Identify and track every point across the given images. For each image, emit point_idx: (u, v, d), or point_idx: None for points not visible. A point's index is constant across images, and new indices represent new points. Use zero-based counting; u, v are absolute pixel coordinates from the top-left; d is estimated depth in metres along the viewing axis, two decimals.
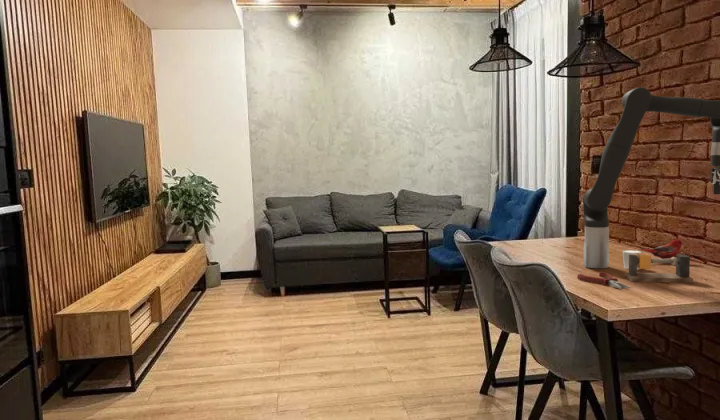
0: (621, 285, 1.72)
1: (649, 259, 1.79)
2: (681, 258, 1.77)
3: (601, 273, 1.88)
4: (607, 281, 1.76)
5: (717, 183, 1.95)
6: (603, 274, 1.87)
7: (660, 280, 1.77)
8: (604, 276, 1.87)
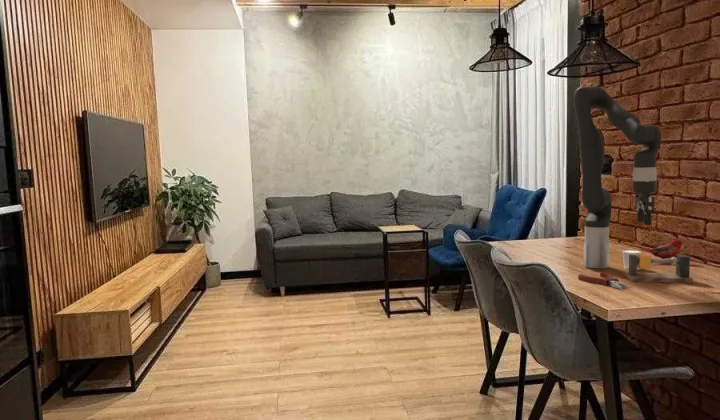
0: (622, 285, 1.72)
1: (649, 259, 1.79)
2: (681, 258, 1.77)
3: (602, 273, 1.88)
4: (608, 281, 1.76)
5: (641, 210, 1.84)
6: (604, 274, 1.87)
7: (660, 280, 1.77)
8: (605, 276, 1.86)
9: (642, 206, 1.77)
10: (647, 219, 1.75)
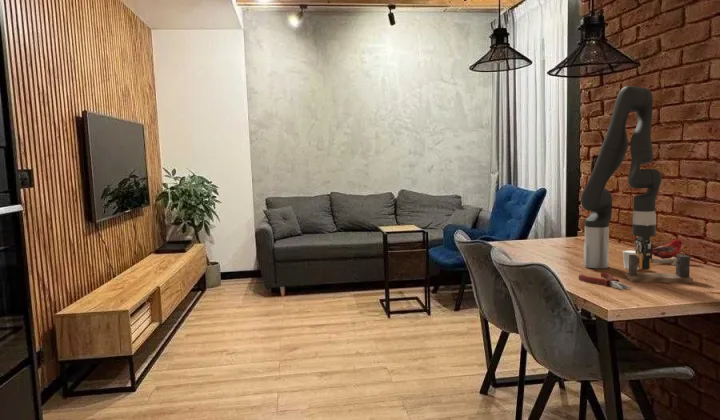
0: (622, 286, 1.71)
1: None
2: (681, 258, 1.77)
3: (603, 273, 1.87)
4: (608, 282, 1.75)
5: None
6: (605, 274, 1.86)
7: (660, 280, 1.77)
8: (606, 276, 1.86)
9: (641, 251, 1.79)
10: (645, 264, 1.78)
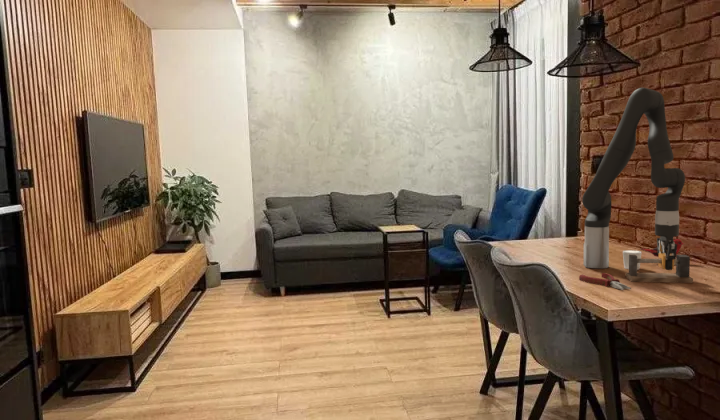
0: (623, 286, 1.71)
1: None
2: (681, 258, 1.77)
3: (603, 274, 1.87)
4: (609, 282, 1.75)
5: None
6: (605, 275, 1.86)
7: (660, 280, 1.77)
8: (606, 277, 1.85)
9: (664, 251, 1.77)
10: (668, 264, 1.76)
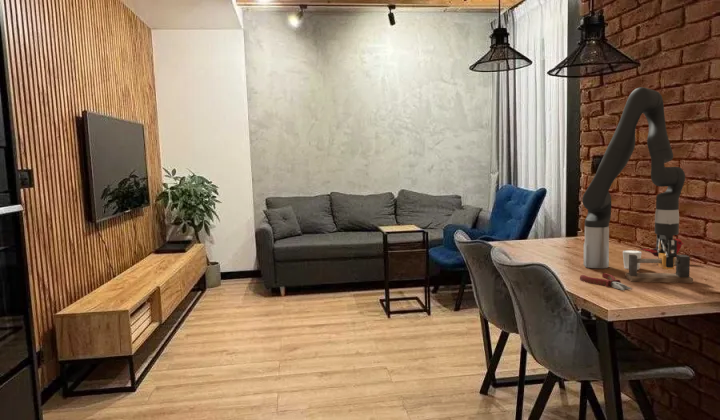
0: (624, 286, 1.70)
1: None
2: (681, 258, 1.77)
3: (604, 274, 1.86)
4: (610, 282, 1.75)
5: (662, 251, 1.83)
6: (606, 275, 1.85)
7: (660, 280, 1.77)
8: (607, 277, 1.85)
9: (664, 248, 1.76)
10: (669, 262, 1.75)
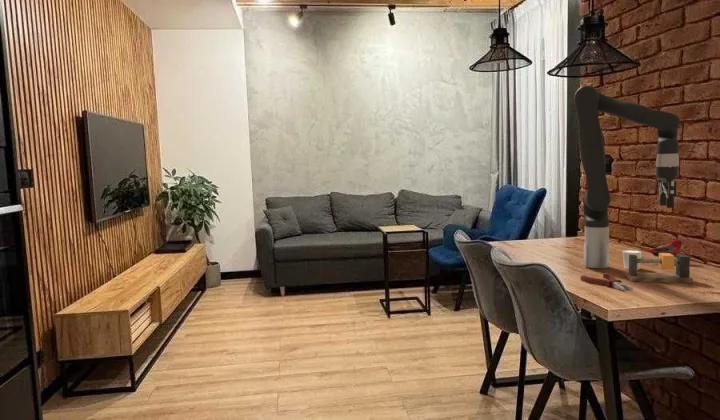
0: (625, 287, 1.70)
1: (672, 259, 1.77)
2: (681, 258, 1.77)
3: (605, 274, 1.86)
4: (611, 283, 1.74)
5: (663, 194, 1.95)
6: (607, 275, 1.85)
7: (660, 280, 1.77)
8: (608, 277, 1.84)
9: (665, 190, 1.88)
10: (669, 202, 1.87)
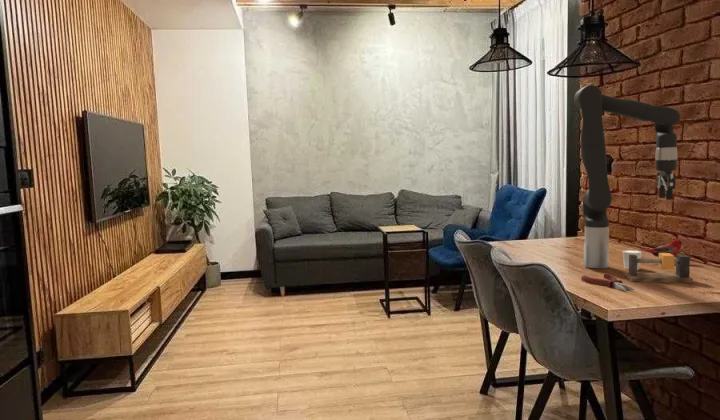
0: (626, 287, 1.69)
1: (672, 259, 1.77)
2: (681, 258, 1.77)
3: (606, 275, 1.85)
4: (612, 283, 1.74)
5: (662, 187, 2.02)
6: (608, 276, 1.84)
7: (660, 280, 1.77)
8: (609, 278, 1.84)
9: (664, 183, 1.94)
10: (669, 194, 1.93)
